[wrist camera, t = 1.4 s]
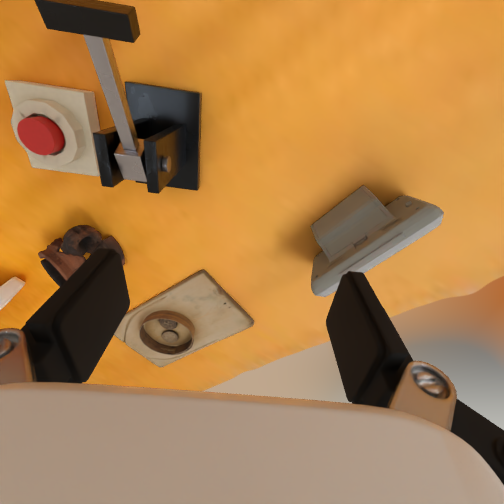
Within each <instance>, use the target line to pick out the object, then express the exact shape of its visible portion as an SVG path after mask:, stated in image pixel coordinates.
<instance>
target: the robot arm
mask: <svg viewBox="0 0 504 504" xmlns="http://www.w3.org/2000/svg"><path fill="white" fill-rule="evenodd" d="M129 305H130V299H129V294H128V289H127V285H126V280H125V275H124V270H123V265H122V260H121V256H120V254H119V253H117V252H116V250H115V249H108V248H98V249H97V250H96V251H95V252H94V253H93V254H92V255H91V256H90V257H89V258H88V259H87V260H86V261H85V262H84V263H83V264H82V265H81V266H80V267H79V268H78V269H77V270H76V271H75V272H74V273H73V274H72V275H71V276H70V277H69V278H68V279H67V281H66V282H65V283H64V284H63V285H62V286H61V287H60V288H59V289H58V290H57V291H56V292H55V293H54V294H53V295H52V296H51V297H50V298H49V299H48V300H47V301H46V302H45V303H44V304H43V305H42V306H41V307H40V308H39V309H38V310H37V311H36V313H35V314H34V315H33V316H32V317H31V318H30V319H29V320H28V321H27V322H26V325H25V326H24V327H23V328H22V329H21V330H19V329H15V328H5V329H0V504H504V430H502V429H501V428H499V427H497V426H496V425H495V424H493V423H492V422H490V421H489V420H487V419H486V418H484V417H483V416H482V415H480V414H479V413H477V412H476V411H474V410H473V409H471V408H470V407H468V406H467V405H465V404H464V403H462V402H461V401H459V400H458V399H456V398H457V394H456V389H455V387H454V385H453V383H452V382H451V380H450V379H449V378H448V377H447V376H446V375H445V374H444V373H443V372H442V371H441V370H439V369H438V368H436V367H435V366H433V365H430V364H429V363H426V362H422V361H413V359H412V358H411V356H410V354H409V352H408V350H407V349H406V347H405V345H404V343H403V341H402V340H401V338H400V336H399V334H398V333H397V331H396V329H395V327H394V325H393V324H392V322H391V320H390V318H389V317H388V315H387V313H386V311H385V309H384V308H383V307H382V305H381V304H380V302H379V300H378V298H377V296H376V295H375V293H374V291H373V289H372V288H371V286H370V284H369V282H368V280H367V279H366V277H365V275H364V274H363V273H362V272H353V271H348V272H347V273H346V274H343V275H342V277H341V280H340V283H339V285H338V288H337V291H336V294H335V296H334V299H333V302H332V305H331V307H330V310H329V313H328V316H327V319H326V326H327V330H328V333H329V337H330V340H331V344H332V347H333V350H334V354H335V358H336V361H337V365H338V368H339V372H340V375H341V379H342V382H343V386H344V389H345V393H346V397H347V399H348V401H349V402H352V404H349V403H340V402H329V401H318V400H305V399H292V398H280V397H268V396H255V395H241V394H228V393H214V392H201V391H187V390H173V389H159V388H144V387H129V386H115V385H100V384H82V382H86V381H87V380H88V379H89V377H90V375H91V374H92V372H93V370H94V368H95V367H96V365H97V363H98V361H99V360H100V358H101V356H102V354H103V353H104V351H105V349H106V347H107V346H108V344H109V342H110V340H111V339H112V337H113V335H114V333H115V332H116V330H117V328H118V326H119V325H120V323H121V321H122V319H123V318H124V316H125V314H126V312H127V311H128V309H129Z"/></svg>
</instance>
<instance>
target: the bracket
mask: <svg viewBox="0 0 504 504" xmlns="http://www.w3.org/2000/svg"><path fill="white" fill-rule="evenodd" d="M125 89H126V98H127V102H128V106H129V109H130V113H131V116H132V120H133V123H134V127H135V130H136V134H137V137H138V139H145V140H144V152H145V164H146V176H147V182H142V181H136V182H138V183H145V184H147V188H148V192H151V193H160V192H161V190H162V189H163V188H164V187H165V186H167V187H175V188H182V189H190V190H198V189H199V178H200V139H201V100H202V93H199V92H193V91H186V90H180V89H174V88H167V87H161V86H154V85H148V84H141V83H135V82H125ZM93 139H94V144H95V150H96V155H97V161H98V166H99V172H100V177H101V183H102V186H106V187H114V186H116V185H117V184H118V183H120V182H121V181H123V180H124V178H123V176H122V173H121V171H120V168H119V166H118V163H117V161H116V158H115V156H114V152H115V150H116V149H117V147H118V145H119V143H120V138H119V135H118V132H117V129H116V127H115V126H114V127H111V128H107V129H104V130H101V131H97V132H94V133H93Z"/></svg>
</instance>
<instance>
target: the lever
mask: <svg viewBox="0 0 504 504" xmlns="http://www.w3.org/2000/svg"><path fill="white" fill-rule="evenodd" d="M35 2H36V5H37V7H38V9H39V12H40V14H41V16H42V18H43V21H44V23H45V25H46V27H47V29H52V30H58V31H64V32H71V33H77V34H83V35H84V38H85V41H86V44H87V46H88V49H89V52H90V55H91V58H92V61H93V64H94V66H95V69H96V72H97V75H98V78H99V81H100V84H101V86H102V89H103V92H104V95H105V98H106V101H107V104H108V106H109V109H110V112H111V115H112V118H113V121H114V124H115V127H116V129H117V132H118V135H119V138H120V143H119V145H118V147H117V149H116V150H115V152H114V156H115V158H116V161H117V163H118V166H119V168H120V171H121V173H122V176H123V178H124V179H127V180H135V181H142V182H147V176H146V164H145V152H144V140H145V139H138V137H137V134H136V130H135V127H134V123H133V120H132V116H131V113H130V109H129V106H128V102H127V99H126V95H125V92H124V88H123V85H122V81H121V78H120V74H119V71H118V67H117V63H116V60H115V56H114V53H113V49H112V46H111V42H110V39H113V40H119V41H125V42H131V43H134V42H135V41H136V39H137V38H138V37H139V35H140V30H139V25H138V20H137V15H136V10H135V7H133V6H127V5H121V4H115V3H109V2H104V1H98V0H35Z"/></svg>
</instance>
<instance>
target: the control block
mask: <svg viewBox="0 0 504 504" xmlns="http://www.w3.org/2000/svg"><path fill="white" fill-rule="evenodd" d="M5 84H6V87H7V90H8V93H9V97H10V100H11V103H12V106H13V109H14V111H13V115H12V119H11V124H12V127H13V130H14V133H15V136H16V139H17V141H18V142H19V143H20V144H21V146H22V147H23V148H24V149H25V150H26V152H27V153H28V157H29V160H30V163H31V166H32V167H33V168H40V169H47V170H55V171H62V172H70V173H77V174H85V175H92V176H100V172H99V166H98V161H97V155H96V150H95V144H94V139H93V133H94V132H97V131H100V126H99V120H98V113H97V107H96V101H95V95H94V92H93V91H86V90H79V89H73V88H66V87H60V86H53V85H47V84H40V83H34V82H27V81H20V80H5ZM37 116H42V117H46V118H48V119H50V120H52V121H53V122H55V123H56V124H57V125H58V127H59V128H60V129H61V131H62V133H63V135H64V141H65V142H64V146H63V148H62V149H61V150H60V151H58V152H55V153H52V154H49V155H38V154H36V153H34V152H32V151H30V150H29V149H28V148H27V147H25V145H24V144H23V143H22V142H21V140H20V138H19V136H18V132H17V127H18V124H19V122H20V121H21V120H22V119H24V118H30V117H37Z"/></svg>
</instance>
